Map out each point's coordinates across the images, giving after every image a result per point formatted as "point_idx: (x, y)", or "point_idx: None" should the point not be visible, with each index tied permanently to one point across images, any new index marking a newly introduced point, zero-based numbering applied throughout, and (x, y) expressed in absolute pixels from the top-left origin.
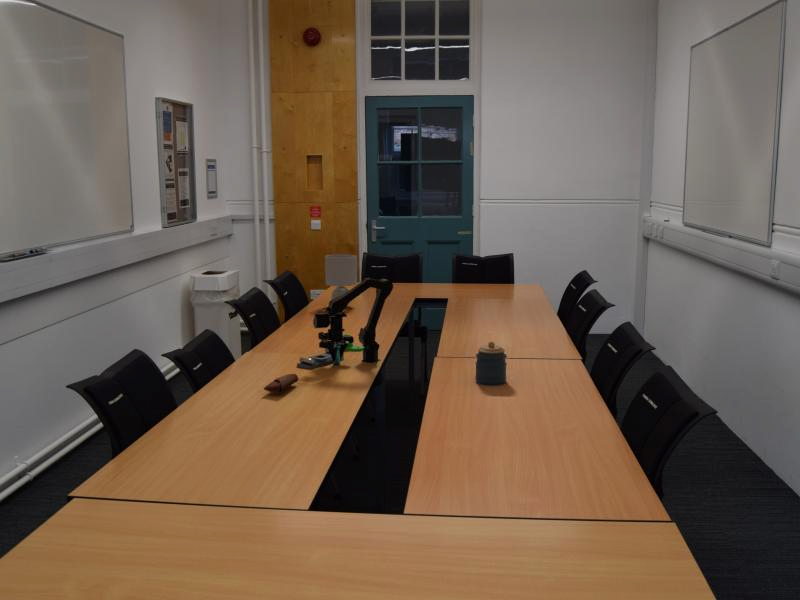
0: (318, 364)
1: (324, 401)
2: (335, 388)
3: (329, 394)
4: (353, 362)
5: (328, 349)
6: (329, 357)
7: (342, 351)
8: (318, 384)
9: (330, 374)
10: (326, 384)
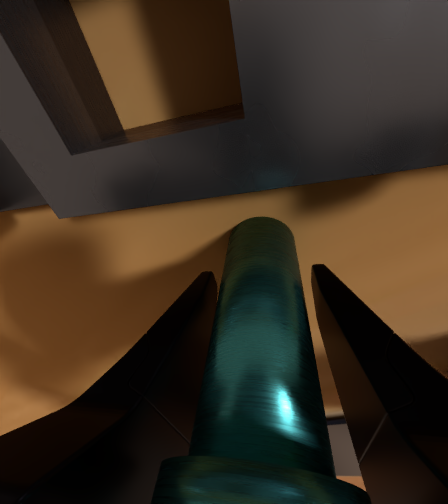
0: (45, 201)
1: (6, 419)
2: (51, 408)
3: (25, 413)
4: (432, 289)
5: (59, 420)
6: (227, 194)
7: (343, 406)
8: (4, 377)
9: (85, 348)
10: (33, 388)
